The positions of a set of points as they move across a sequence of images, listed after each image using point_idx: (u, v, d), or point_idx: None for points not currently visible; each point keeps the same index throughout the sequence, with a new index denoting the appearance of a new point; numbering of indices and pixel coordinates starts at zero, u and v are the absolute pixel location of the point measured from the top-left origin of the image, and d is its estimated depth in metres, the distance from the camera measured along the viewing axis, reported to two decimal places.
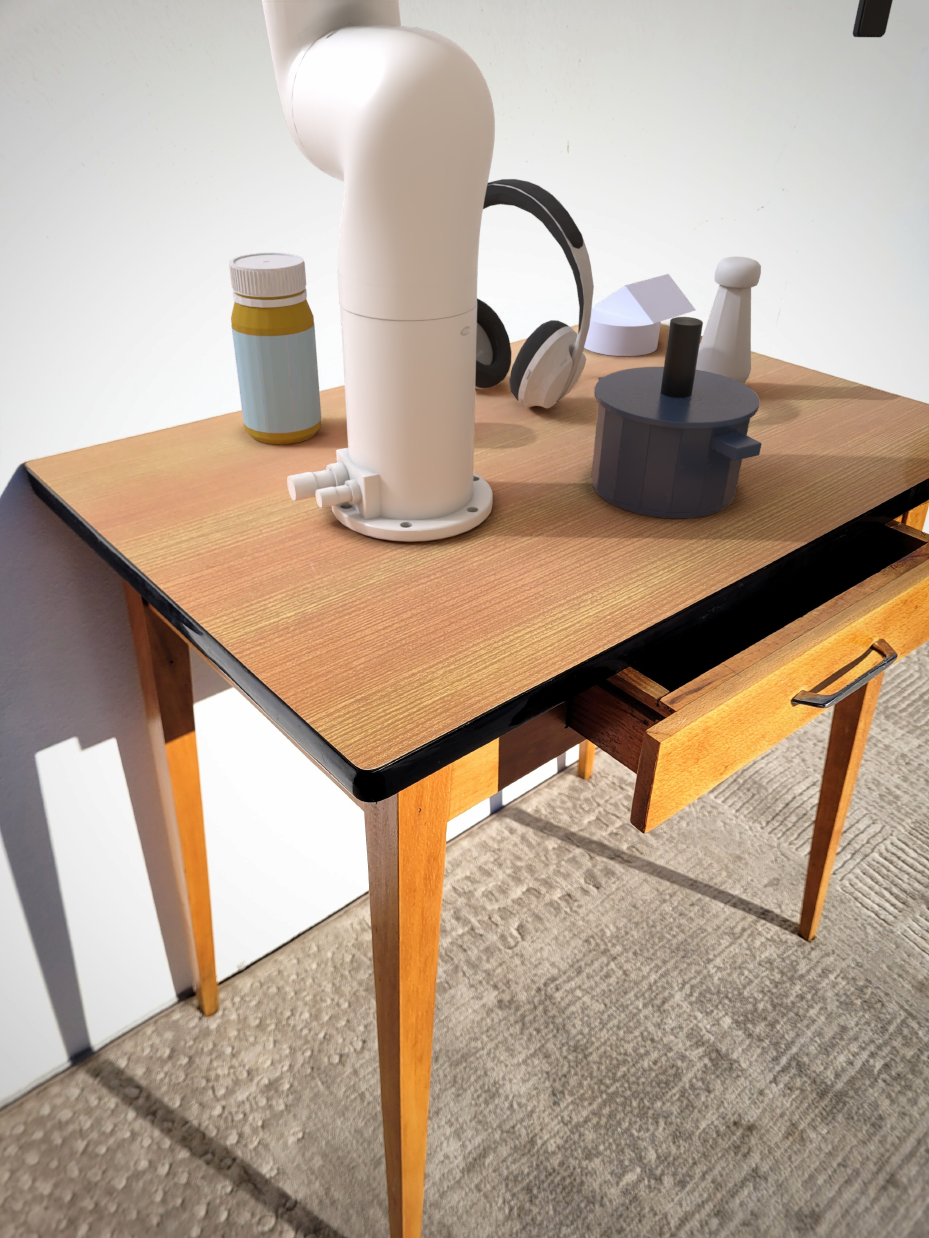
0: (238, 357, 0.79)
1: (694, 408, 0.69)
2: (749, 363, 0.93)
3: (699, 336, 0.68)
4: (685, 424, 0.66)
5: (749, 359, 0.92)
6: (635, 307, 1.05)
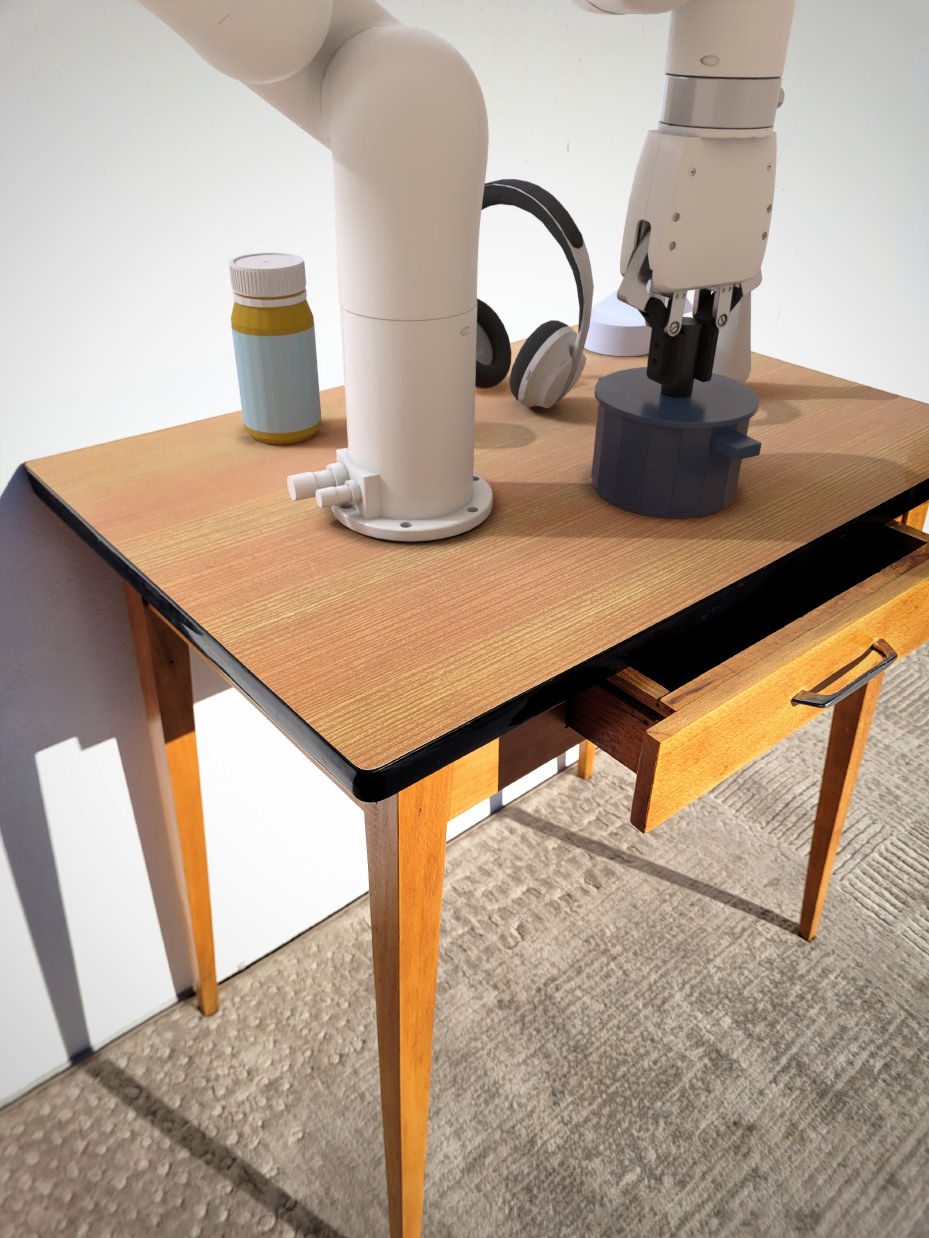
0: (238, 357, 0.79)
1: (694, 408, 0.69)
2: (749, 363, 0.93)
3: (699, 336, 0.68)
4: (685, 424, 0.66)
5: (749, 359, 0.92)
6: None
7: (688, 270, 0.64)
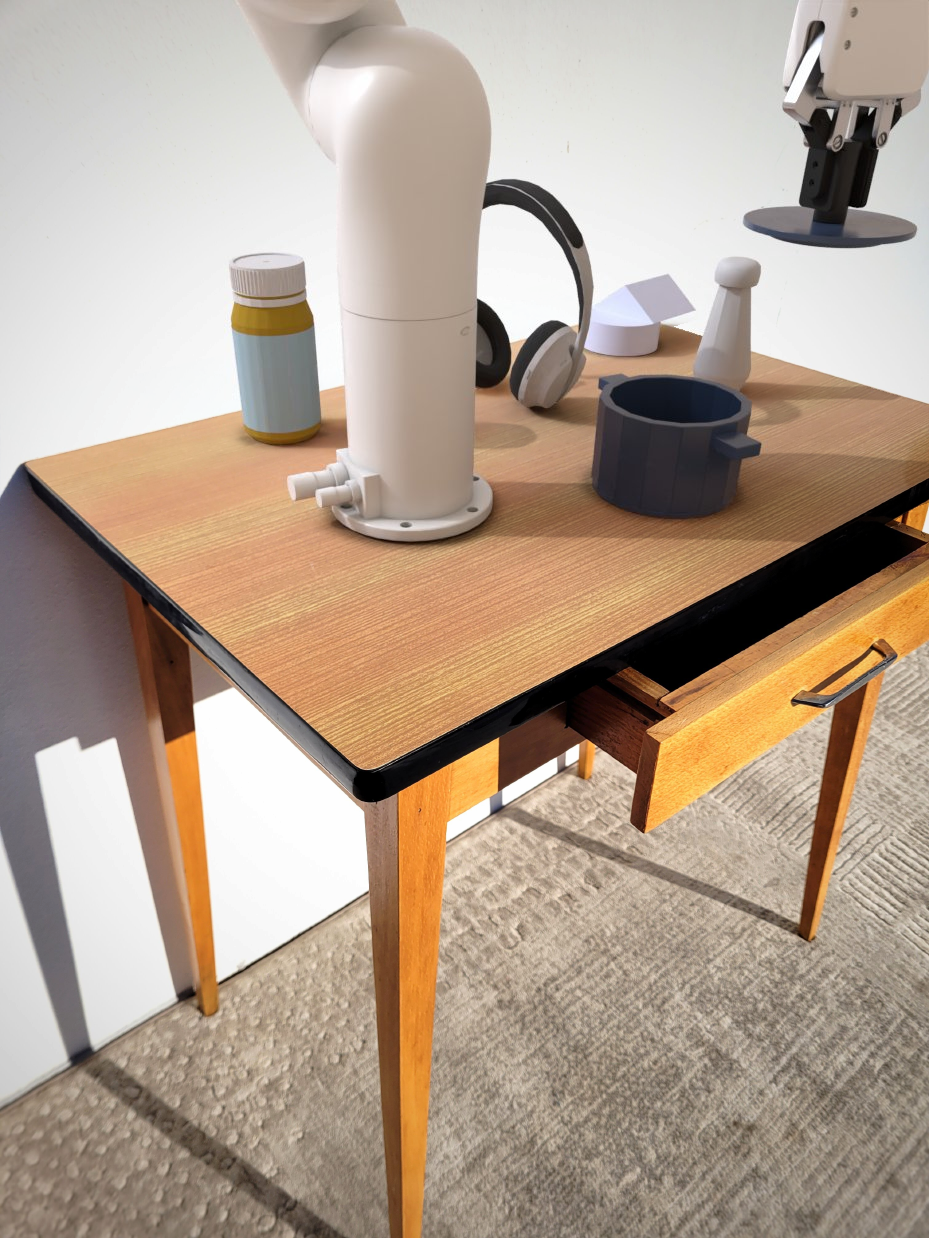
0: (238, 357, 0.79)
1: (853, 229, 0.67)
2: (749, 363, 0.93)
3: (859, 155, 0.67)
4: (849, 240, 0.65)
5: (749, 359, 0.92)
6: (635, 307, 1.05)
7: (859, 75, 0.62)
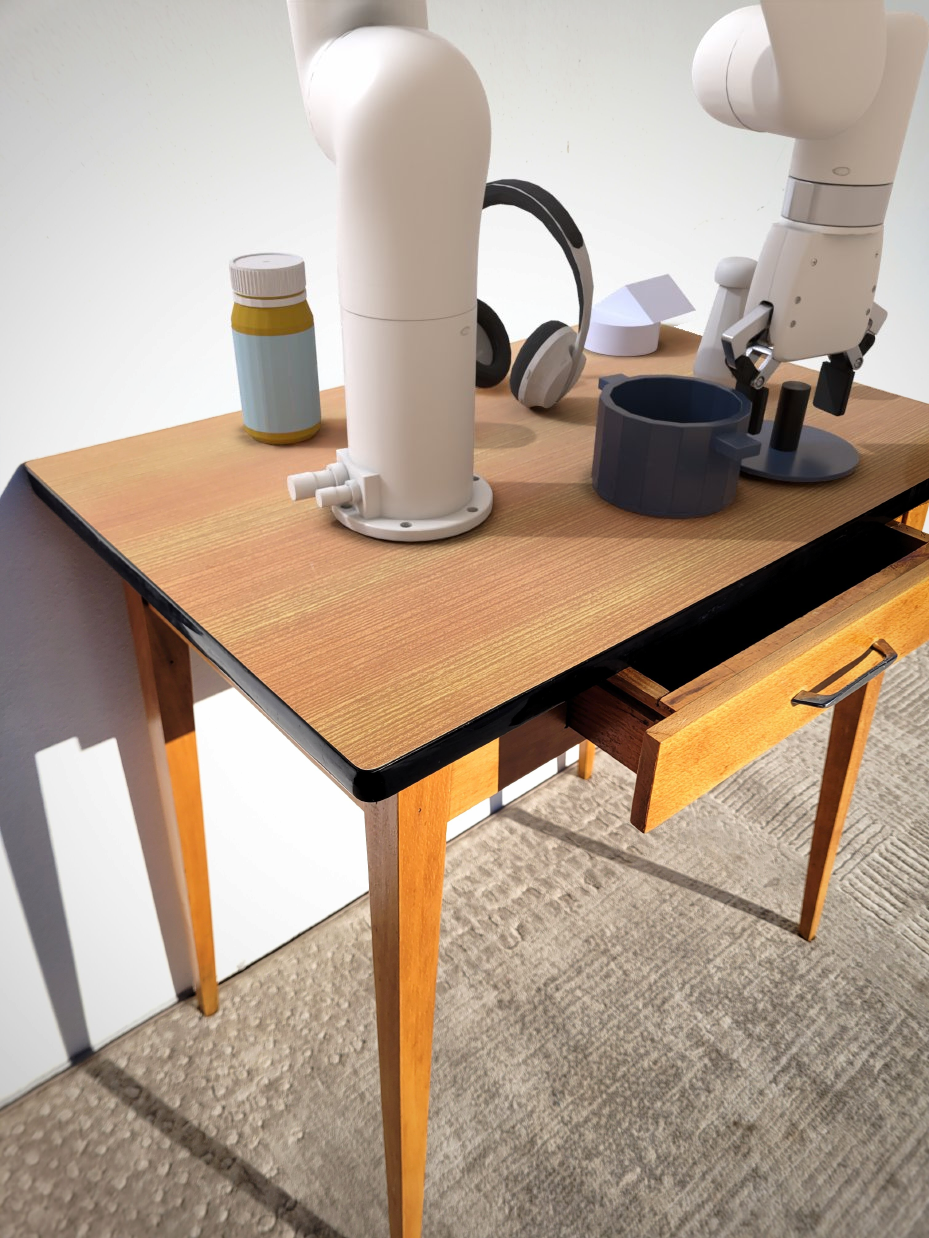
0: (238, 357, 0.79)
1: (803, 462, 0.78)
2: None
3: (808, 399, 0.77)
4: (798, 478, 0.76)
5: None
6: (635, 307, 1.05)
7: (804, 343, 0.73)
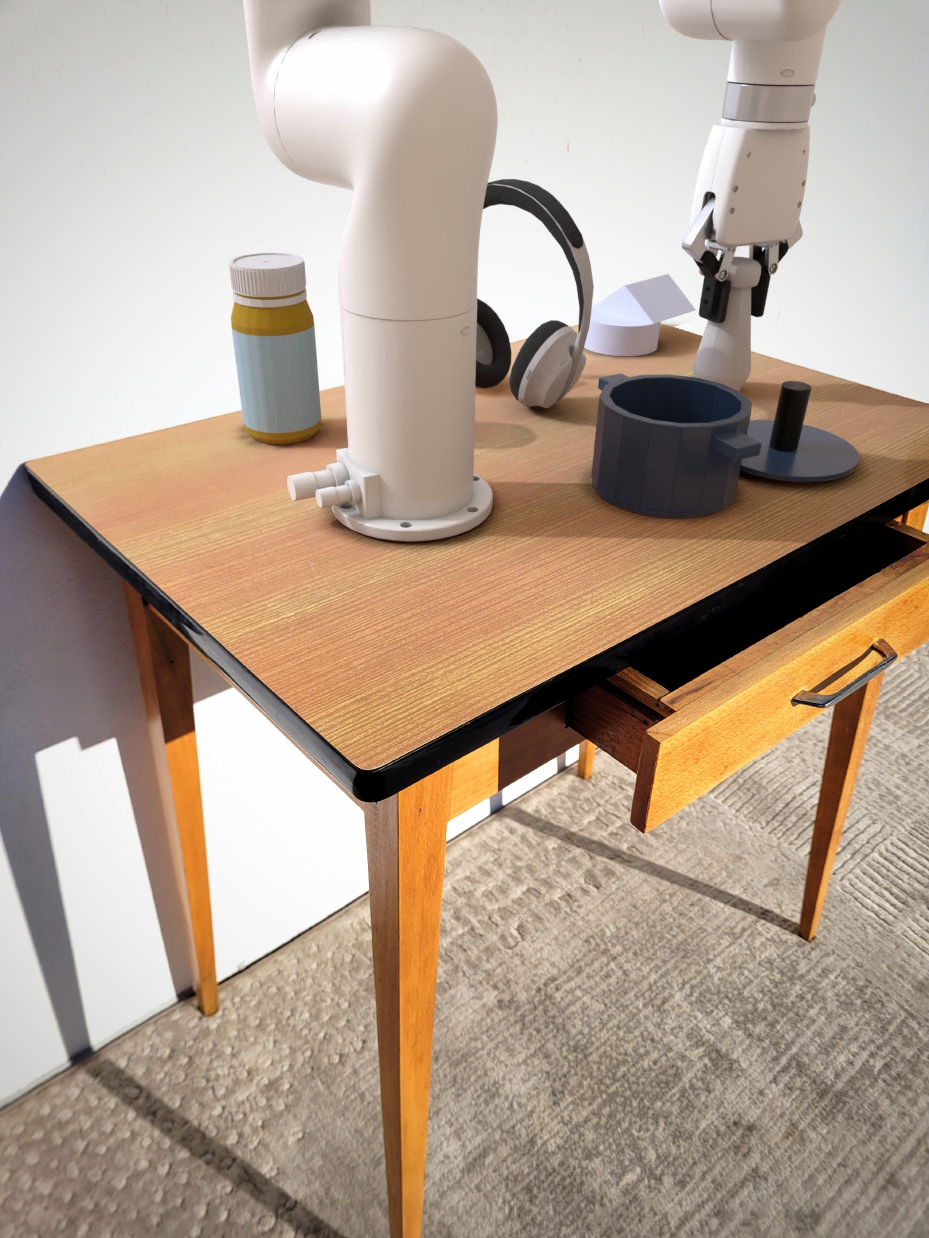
0: (238, 357, 0.79)
1: (803, 462, 0.78)
2: (749, 363, 0.93)
3: (808, 399, 0.77)
4: (798, 478, 0.76)
5: (749, 359, 0.92)
6: (635, 307, 1.05)
7: (742, 230, 0.84)
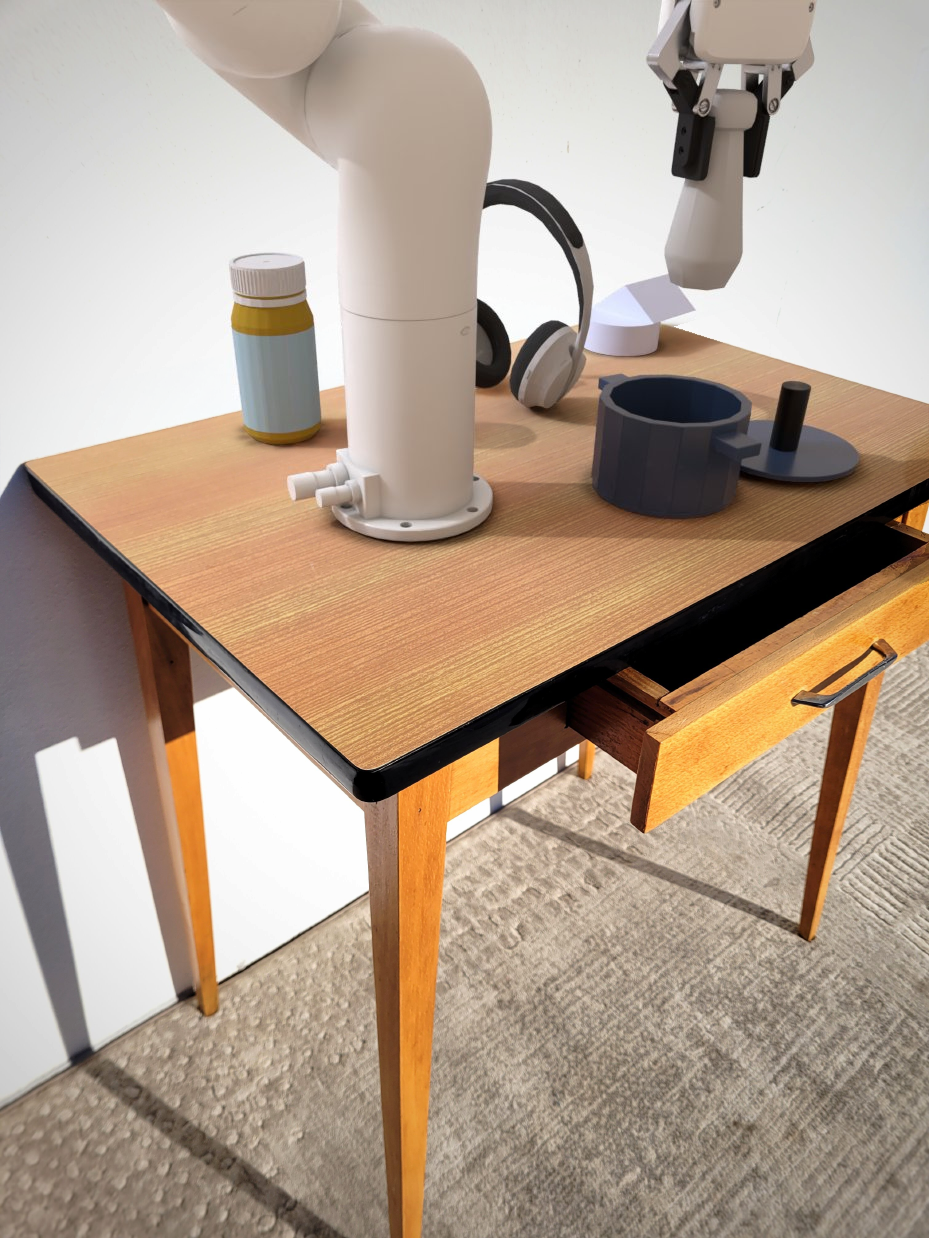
0: (238, 357, 0.79)
1: (803, 462, 0.78)
2: (740, 242, 0.68)
3: (808, 399, 0.77)
4: (798, 478, 0.76)
5: (740, 236, 0.68)
6: (635, 307, 1.05)
7: (732, 36, 0.59)
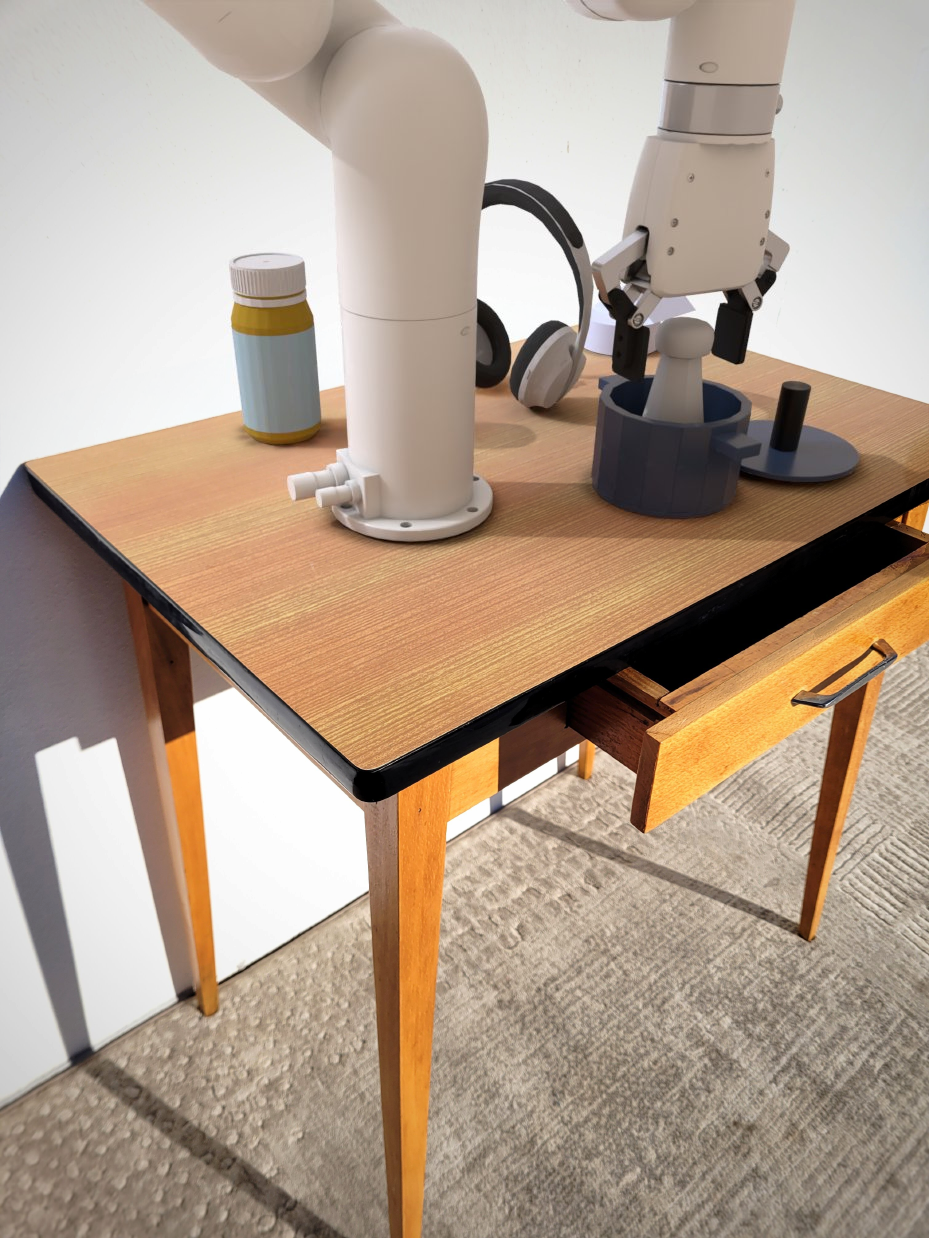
0: (238, 357, 0.79)
1: (803, 462, 0.78)
2: None
3: (808, 399, 0.77)
4: (798, 478, 0.76)
5: None
6: None
7: (686, 275, 0.64)
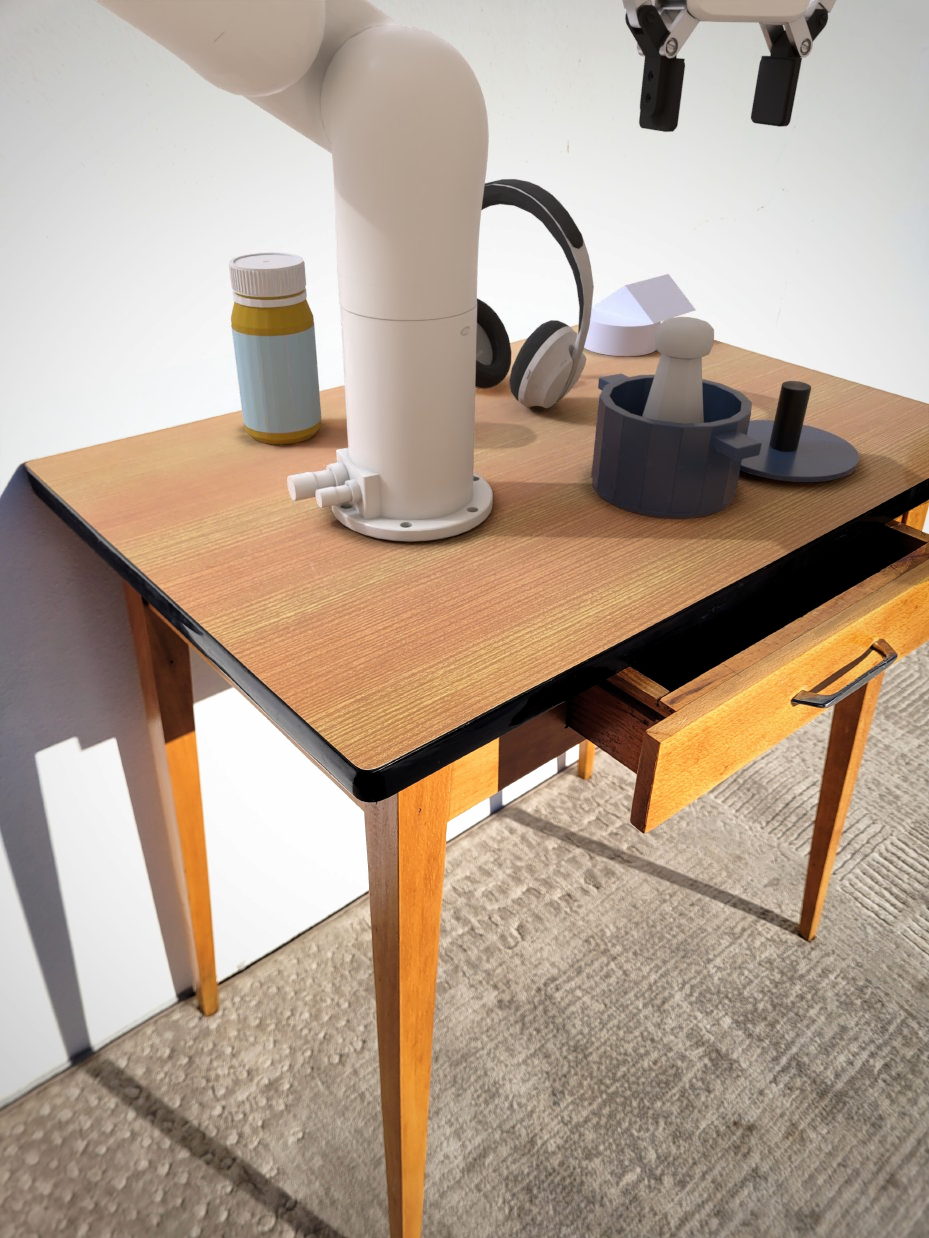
0: (238, 357, 0.79)
1: (803, 462, 0.78)
2: None
3: (808, 399, 0.77)
4: (798, 478, 0.76)
5: None
6: (635, 307, 1.05)
7: None
